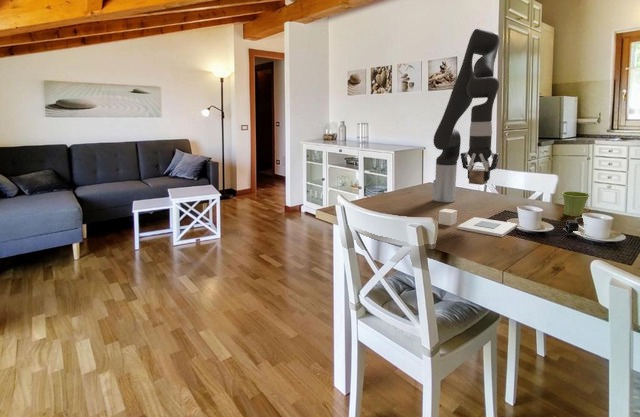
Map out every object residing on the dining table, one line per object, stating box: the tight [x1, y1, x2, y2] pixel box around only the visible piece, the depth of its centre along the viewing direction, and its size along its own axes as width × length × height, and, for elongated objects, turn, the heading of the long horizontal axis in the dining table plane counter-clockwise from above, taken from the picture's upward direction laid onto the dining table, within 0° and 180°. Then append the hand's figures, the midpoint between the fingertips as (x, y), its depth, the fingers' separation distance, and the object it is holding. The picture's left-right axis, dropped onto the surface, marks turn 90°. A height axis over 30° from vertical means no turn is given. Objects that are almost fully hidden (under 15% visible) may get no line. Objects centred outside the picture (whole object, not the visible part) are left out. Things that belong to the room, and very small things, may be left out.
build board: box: [456, 216, 519, 238], centre depth 153 cm, size 16×16×1 cm
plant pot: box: [561, 190, 591, 218], centre depth 167 cm, size 9×9×9 cm
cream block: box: [438, 208, 458, 227], centre depth 160 cm, size 5×5×5 cm
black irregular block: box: [563, 219, 580, 233], centre depth 145 cm, size 12×7×5 cm, turn 162°
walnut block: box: [468, 168, 488, 186], centre depth 156 cm, size 5×5×5 cm
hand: (478, 180), depth 156 cm, fingers closed on walnut block, 5 cm apart
